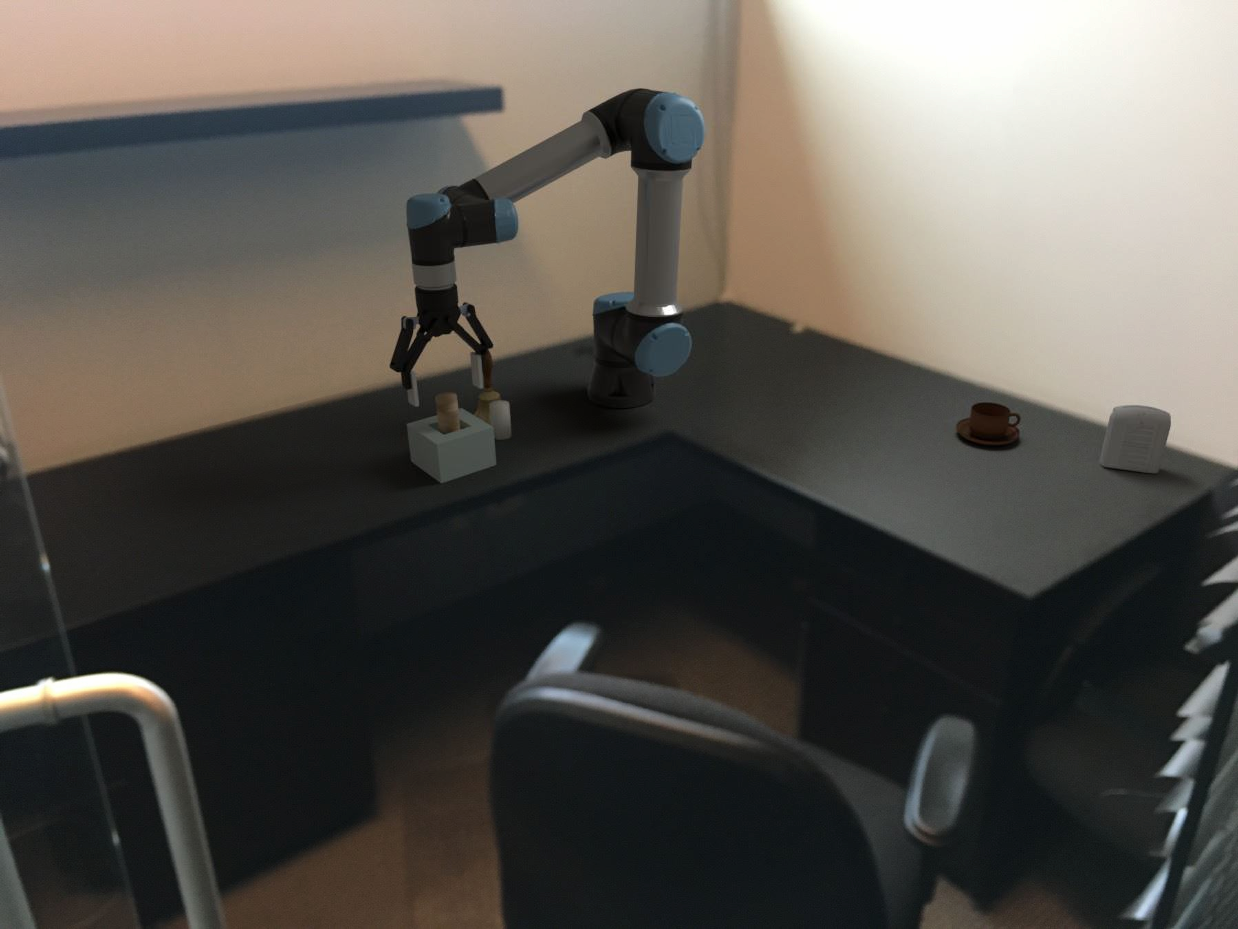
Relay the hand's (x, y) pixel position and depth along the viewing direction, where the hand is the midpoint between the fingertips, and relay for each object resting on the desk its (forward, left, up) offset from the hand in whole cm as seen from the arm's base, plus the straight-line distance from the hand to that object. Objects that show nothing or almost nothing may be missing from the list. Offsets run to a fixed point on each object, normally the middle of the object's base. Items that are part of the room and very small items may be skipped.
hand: (446, 395), depth 187 cm
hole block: (0, 0, -14) cm, 14 cm away
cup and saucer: (-89, +58, -15) cm, 107 cm away
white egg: (-14, -5, -14) cm, 21 cm away
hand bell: (-17, -14, -14) cm, 26 cm away
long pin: (0, 0, -14) cm, 14 cm away
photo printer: (-97, +83, -14) cm, 128 cm away
